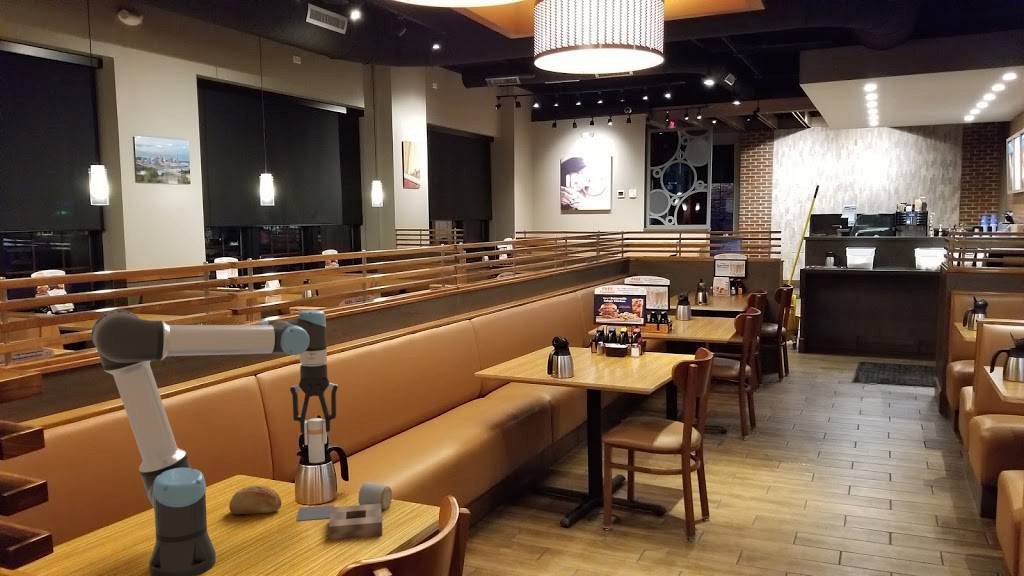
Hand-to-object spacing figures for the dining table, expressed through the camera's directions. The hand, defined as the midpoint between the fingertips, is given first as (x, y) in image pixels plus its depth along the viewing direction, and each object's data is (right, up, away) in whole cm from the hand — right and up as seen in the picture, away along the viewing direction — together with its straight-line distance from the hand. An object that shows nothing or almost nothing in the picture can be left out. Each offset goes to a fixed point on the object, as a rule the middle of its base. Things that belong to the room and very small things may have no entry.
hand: (315, 442), depth 215 cm
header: (+13, -22, -8) cm, 27 cm away
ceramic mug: (+16, -21, +8) cm, 28 cm away
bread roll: (-19, -22, +4) cm, 29 cm away
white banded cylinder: (0, -5, 0) cm, 5 cm away
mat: (-1, -22, +2) cm, 22 cm away
